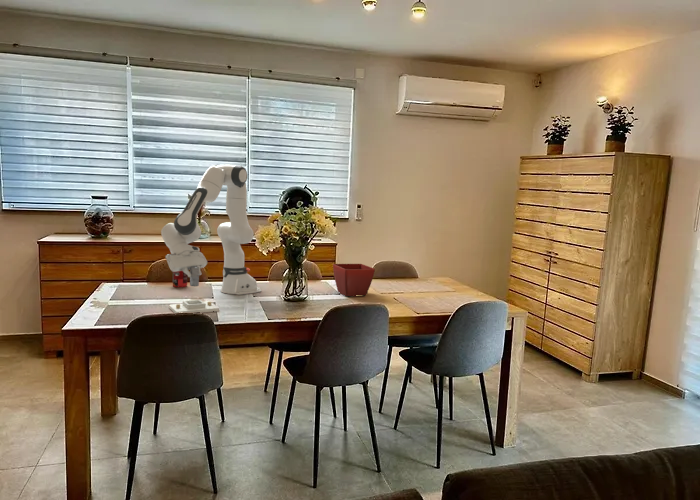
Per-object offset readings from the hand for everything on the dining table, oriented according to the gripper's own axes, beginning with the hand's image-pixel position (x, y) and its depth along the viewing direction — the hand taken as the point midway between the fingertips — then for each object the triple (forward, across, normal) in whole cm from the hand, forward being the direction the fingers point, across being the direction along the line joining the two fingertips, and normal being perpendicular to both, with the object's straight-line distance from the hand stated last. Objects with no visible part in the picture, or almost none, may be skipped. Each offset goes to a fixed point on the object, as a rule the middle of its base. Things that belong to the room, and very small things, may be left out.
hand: (195, 275), depth 235 cm
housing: (+12, 0, +12) cm, 17 cm away
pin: (+3, 0, +4) cm, 5 cm away
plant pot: (+39, +85, -15) cm, 94 cm away
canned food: (-20, +28, +44) cm, 56 cm away
